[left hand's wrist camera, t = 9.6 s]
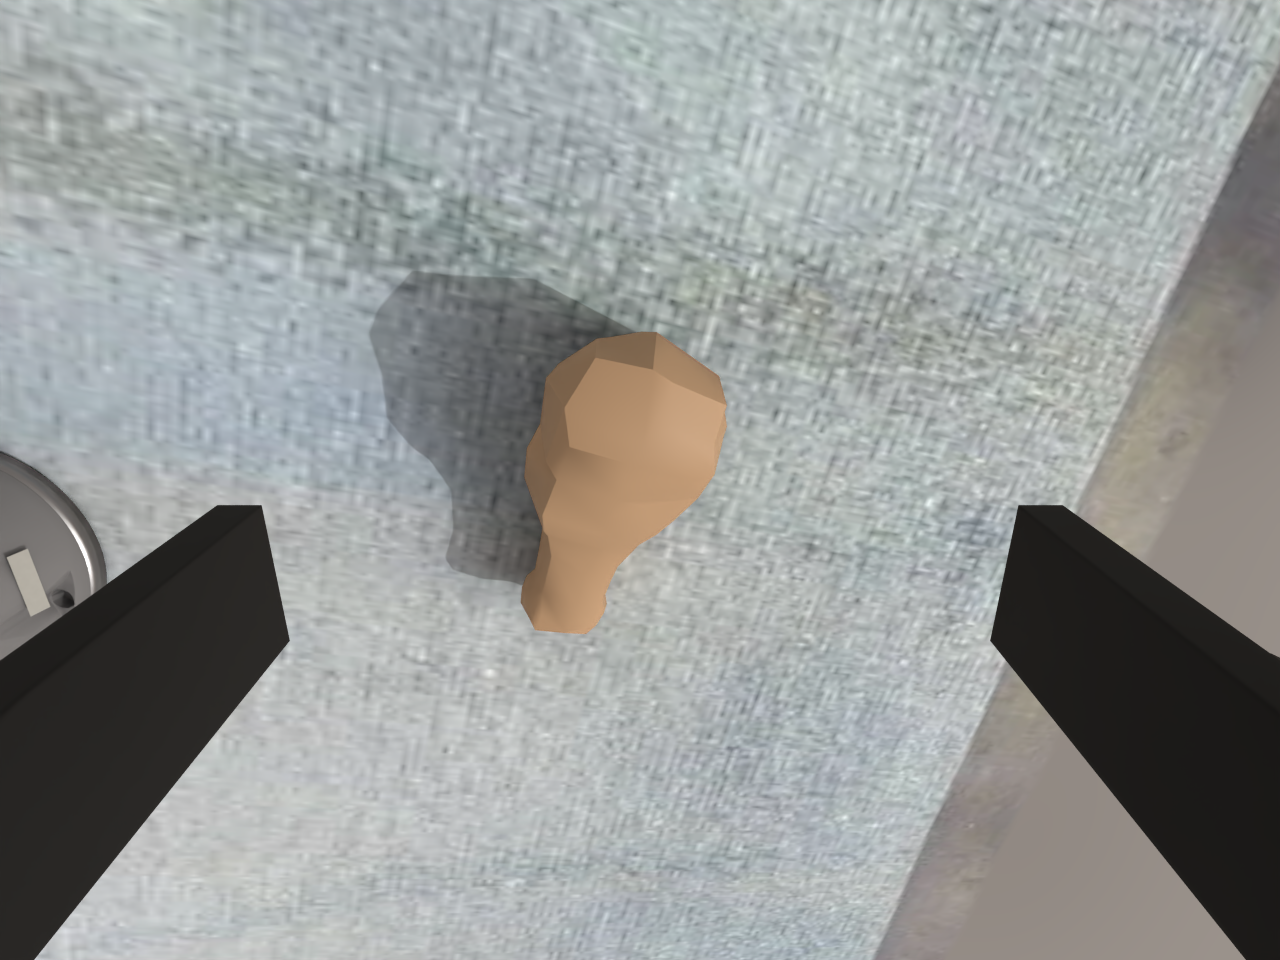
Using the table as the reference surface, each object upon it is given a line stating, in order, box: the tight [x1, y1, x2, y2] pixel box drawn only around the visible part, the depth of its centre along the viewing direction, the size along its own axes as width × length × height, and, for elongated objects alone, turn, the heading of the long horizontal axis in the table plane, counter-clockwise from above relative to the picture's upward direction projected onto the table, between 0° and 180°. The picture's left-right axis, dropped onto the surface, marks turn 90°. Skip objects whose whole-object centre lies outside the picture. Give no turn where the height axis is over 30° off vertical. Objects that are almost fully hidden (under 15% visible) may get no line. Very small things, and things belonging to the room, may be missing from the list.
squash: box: [521, 332, 727, 634], centre depth 41 cm, size 11×20×9 cm, turn 164°
